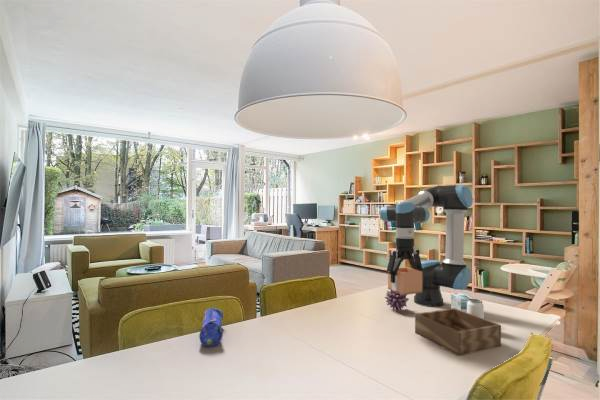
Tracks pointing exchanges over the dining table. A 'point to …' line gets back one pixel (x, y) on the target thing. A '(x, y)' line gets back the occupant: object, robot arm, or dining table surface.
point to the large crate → (458, 331)
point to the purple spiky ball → (396, 300)
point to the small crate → (407, 281)
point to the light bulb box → (459, 301)
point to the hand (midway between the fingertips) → (404, 289)
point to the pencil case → (211, 327)
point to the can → (475, 307)
